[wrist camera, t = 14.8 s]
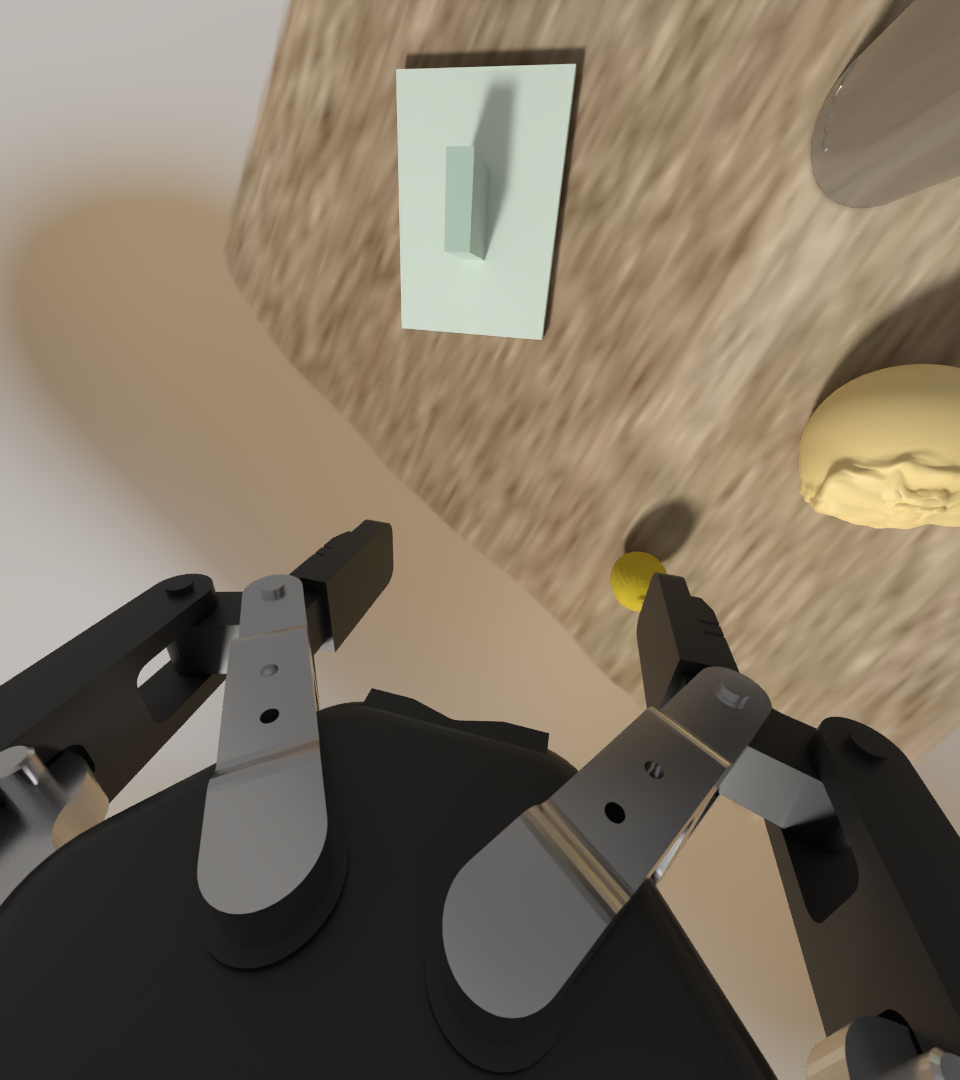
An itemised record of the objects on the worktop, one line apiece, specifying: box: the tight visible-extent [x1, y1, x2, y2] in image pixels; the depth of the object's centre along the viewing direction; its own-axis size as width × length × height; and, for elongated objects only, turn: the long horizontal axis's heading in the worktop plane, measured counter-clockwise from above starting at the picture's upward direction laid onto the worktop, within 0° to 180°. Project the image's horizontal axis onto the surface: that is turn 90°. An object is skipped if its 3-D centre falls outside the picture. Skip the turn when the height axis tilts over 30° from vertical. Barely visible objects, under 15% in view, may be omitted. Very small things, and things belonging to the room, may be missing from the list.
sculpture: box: [799, 364, 960, 529], centre depth 31 cm, size 12×12×11 cm
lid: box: [396, 64, 576, 340], centre depth 33 cm, size 13×17×7 cm
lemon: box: [610, 551, 667, 612], centre depth 43 cm, size 6×6×8 cm
